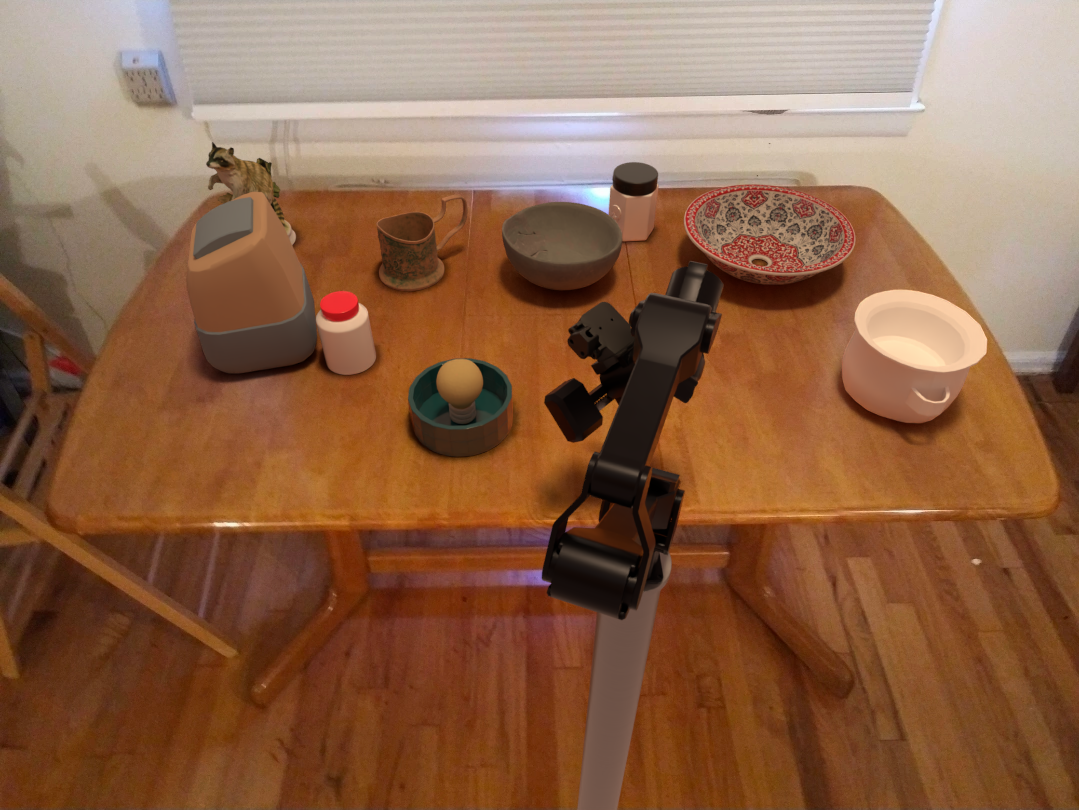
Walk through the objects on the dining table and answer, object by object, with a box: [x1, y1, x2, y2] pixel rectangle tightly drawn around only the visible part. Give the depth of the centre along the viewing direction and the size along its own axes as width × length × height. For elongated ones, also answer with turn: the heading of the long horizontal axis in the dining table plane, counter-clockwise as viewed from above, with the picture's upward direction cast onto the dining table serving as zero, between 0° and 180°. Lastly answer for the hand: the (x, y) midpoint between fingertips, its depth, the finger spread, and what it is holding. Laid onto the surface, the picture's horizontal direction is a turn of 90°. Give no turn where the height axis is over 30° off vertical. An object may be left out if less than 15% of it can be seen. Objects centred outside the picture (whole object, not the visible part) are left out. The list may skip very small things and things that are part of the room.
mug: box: [375, 194, 468, 292], centre depth 136 cm, size 12×18×12 cm, turn 124°
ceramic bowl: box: [683, 183, 856, 286], centre depth 138 cm, size 29×29×8 cm
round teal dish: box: [407, 357, 514, 458], centre depth 111 cm, size 14×14×6 cm
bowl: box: [501, 201, 623, 291], centre depth 134 cm, size 20×20×10 cm
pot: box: [841, 289, 988, 424], centre depth 113 cm, size 22×17×12 cm
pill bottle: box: [315, 290, 377, 376], centre depth 118 cm, size 8×8×11 cm
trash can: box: [185, 192, 318, 374], centre depth 117 cm, size 17×17×23 cm
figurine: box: [205, 141, 297, 246], centre depth 139 cm, size 12×14×20 cm
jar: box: [607, 161, 660, 242], centre depth 145 cm, size 9×8×12 cm
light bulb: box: [436, 358, 483, 424], centre depth 108 cm, size 6×6×10 cm
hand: (575, 390), depth 97 cm, fingers open, 9 cm apart
